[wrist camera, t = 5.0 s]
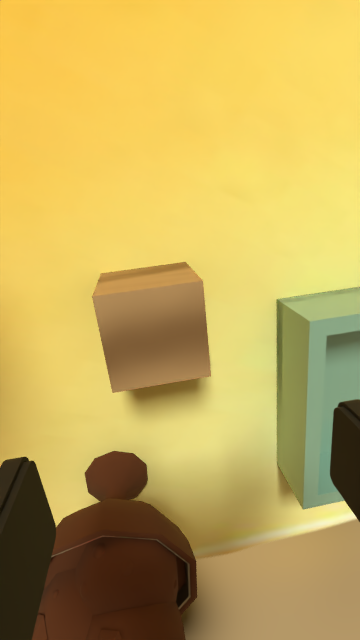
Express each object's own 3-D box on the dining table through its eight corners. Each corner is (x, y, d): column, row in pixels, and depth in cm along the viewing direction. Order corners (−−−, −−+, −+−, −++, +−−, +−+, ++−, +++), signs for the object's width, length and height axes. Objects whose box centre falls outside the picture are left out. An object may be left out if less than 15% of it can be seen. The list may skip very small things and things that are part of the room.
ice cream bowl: (120, 401, 27) (111, 622, 13) (201, 476, 31) (262, 708, 17) (23, 476, 28) (-82, 755, 14) (114, 539, 32) (102, 806, 18)
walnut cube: (101, 273, 23) (92, 296, 18) (185, 261, 24) (202, 280, 18) (116, 350, 25) (112, 393, 20) (193, 338, 26) (210, 376, 20)
